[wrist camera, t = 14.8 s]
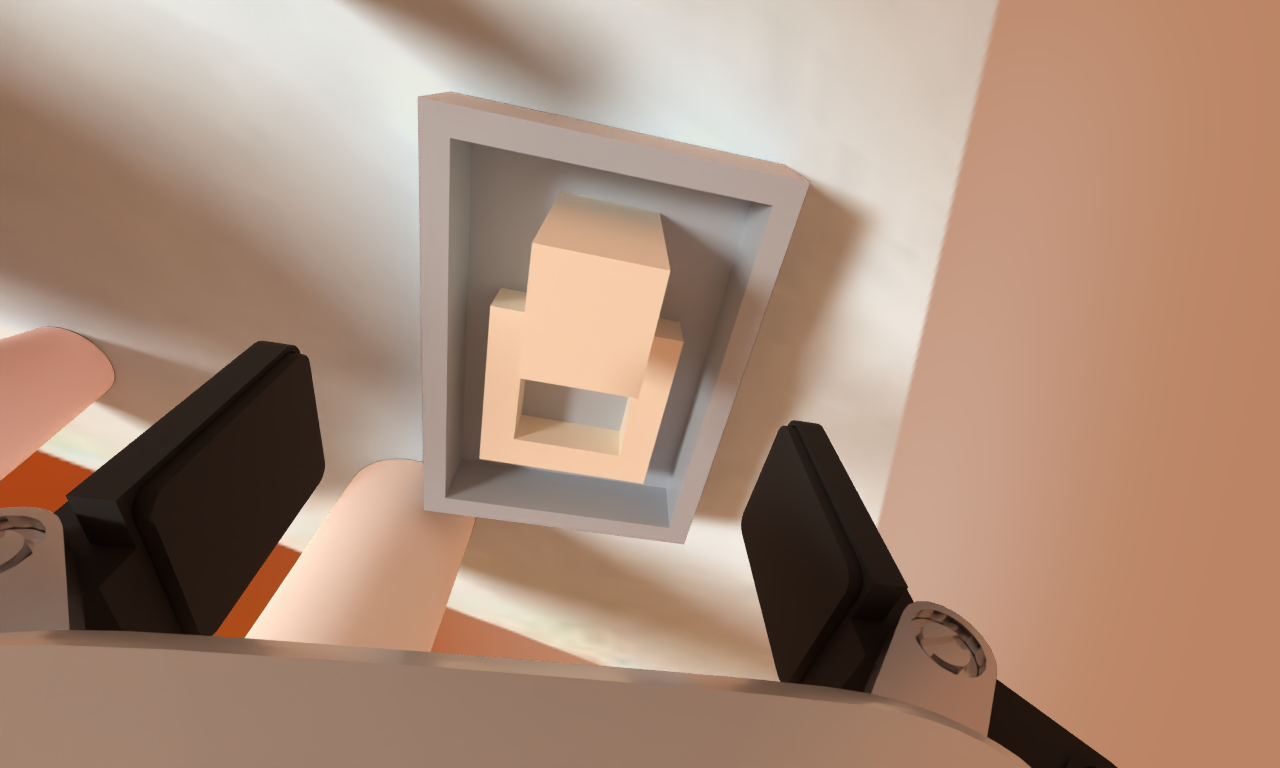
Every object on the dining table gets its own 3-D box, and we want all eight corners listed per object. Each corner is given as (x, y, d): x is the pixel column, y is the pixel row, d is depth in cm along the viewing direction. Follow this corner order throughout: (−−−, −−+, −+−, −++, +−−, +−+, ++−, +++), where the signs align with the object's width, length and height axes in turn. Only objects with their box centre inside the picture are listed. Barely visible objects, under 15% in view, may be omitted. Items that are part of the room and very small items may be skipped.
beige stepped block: (707, 223, 21) (736, 284, 16) (642, 457, 28) (645, 565, 22) (509, 180, 21) (459, 227, 15) (489, 433, 27) (448, 539, 21)
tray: (450, 91, 19) (417, 96, 16) (785, 164, 21) (810, 181, 18) (445, 463, 29) (423, 510, 26) (678, 496, 30) (684, 544, 27)
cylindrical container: (495, 490, 30) (138, 1593, 8) (450, 565, 33) (108, 1505, 11) (367, 439, 28) (-532, 1710, 6) (333, 524, 31) (-345, 1564, 9)
